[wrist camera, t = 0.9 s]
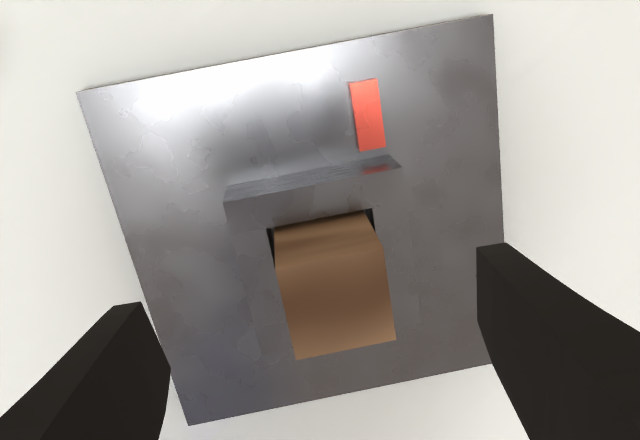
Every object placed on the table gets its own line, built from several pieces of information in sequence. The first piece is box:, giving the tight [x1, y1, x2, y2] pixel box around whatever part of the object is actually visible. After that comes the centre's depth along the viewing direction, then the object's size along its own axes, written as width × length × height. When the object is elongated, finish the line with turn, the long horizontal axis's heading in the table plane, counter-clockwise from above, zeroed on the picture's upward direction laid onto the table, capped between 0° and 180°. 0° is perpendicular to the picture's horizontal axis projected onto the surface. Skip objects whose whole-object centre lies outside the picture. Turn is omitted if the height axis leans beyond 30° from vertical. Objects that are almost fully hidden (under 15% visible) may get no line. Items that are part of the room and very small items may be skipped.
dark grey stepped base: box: [76, 14, 504, 426], centre depth 24 cm, size 18×18×4 cm
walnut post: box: [274, 210, 396, 360], centre depth 22 cm, size 4×4×6 cm
